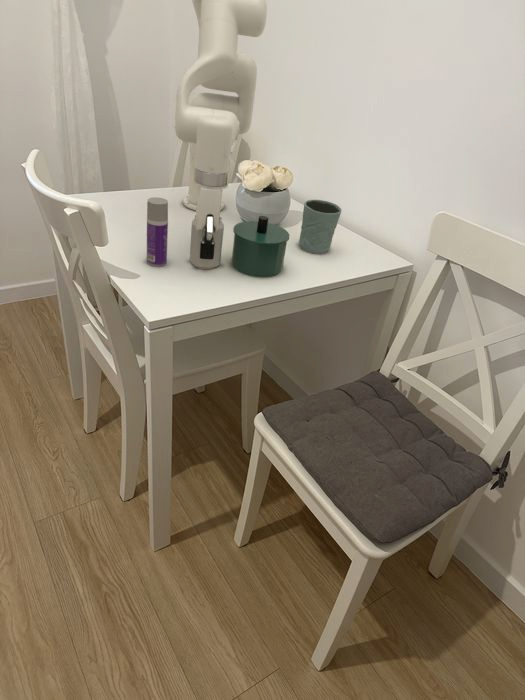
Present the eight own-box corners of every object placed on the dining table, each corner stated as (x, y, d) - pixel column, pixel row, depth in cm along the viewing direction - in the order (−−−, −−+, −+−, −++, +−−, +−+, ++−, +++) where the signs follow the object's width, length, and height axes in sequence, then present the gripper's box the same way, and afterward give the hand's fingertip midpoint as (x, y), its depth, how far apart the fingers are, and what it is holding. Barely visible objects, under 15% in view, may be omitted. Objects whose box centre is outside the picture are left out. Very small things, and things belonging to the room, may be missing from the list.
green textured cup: (306, 237, 147) (314, 196, 141) (337, 248, 144) (347, 207, 137) (290, 247, 140) (297, 204, 133) (323, 259, 136) (332, 215, 130)
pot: (233, 275, 121) (237, 242, 116) (230, 253, 131) (233, 221, 126) (285, 278, 123) (291, 246, 119) (277, 256, 133) (282, 225, 129)
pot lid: (235, 245, 116) (237, 226, 114) (230, 223, 127) (232, 205, 125) (293, 249, 119) (296, 230, 116) (283, 227, 130) (286, 210, 127)
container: (167, 266, 120) (169, 204, 112) (147, 266, 119) (148, 204, 110) (165, 258, 124) (166, 197, 115) (145, 258, 122) (145, 196, 114)
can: (215, 273, 121) (219, 225, 114) (185, 266, 121) (187, 218, 115) (223, 261, 127) (228, 214, 120) (194, 254, 128) (197, 208, 121)
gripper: (193, 164, 119) (189, 236, 129) (195, 188, 105) (190, 266, 115) (225, 167, 120) (219, 238, 130) (231, 191, 106) (223, 268, 116)
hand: (205, 250), depth 122 cm, fingers closed on can, 7 cm apart
